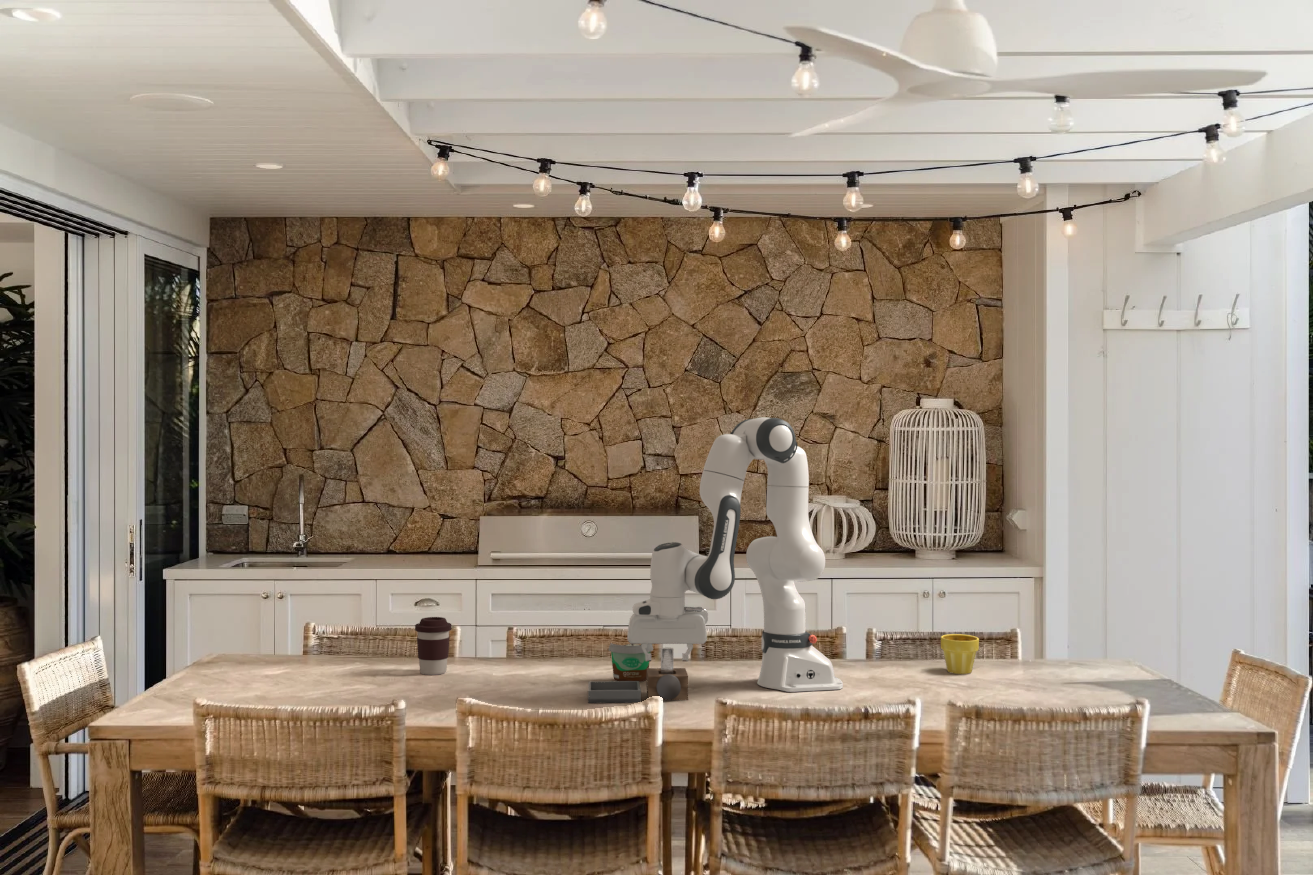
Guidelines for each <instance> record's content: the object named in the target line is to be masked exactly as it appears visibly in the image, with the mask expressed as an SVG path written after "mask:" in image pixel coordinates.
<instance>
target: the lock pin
mask: <svg viewBox="0 0 1313 875" xmlns="http://www.w3.org/2000/svg"><path fill="white" fill-rule="evenodd" d="M660 668H661V674H673V668H674V647H661V648H660Z"/></svg>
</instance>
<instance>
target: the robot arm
mask: <svg viewBox="0 0 1313 875" xmlns="http://www.w3.org/2000/svg"><path fill="white" fill-rule="evenodd" d="M796 439H797V437H796V434H795V430H794V428H793V427H792V425H791V424H790V423H789V422H788V421H786V420H784V419H782V418H778V417H769V416H767V417H766V416H765V417H764V416H763V417H762V416H761V417H757V418H748V419H745V420H744V419H743V420H742V421H740V422H739V423H737V424H736V425H735V426H734V427H733V429H732V431H731V432H730V433H724V434H720V435H719V436H717V437H716V438H715V439H714V441H713V443H712V445H711V448H710V449H709V452H708V454H707V457H706V461H705V463H704V466H703V471H702V474H701V477H700V482H699V496H700V499H701V501H702V502H703V504H704V505H705V507H706V508H708V509H709V511H710V513H711V515H712V518H713V529H712V536H711V541H710V547H709V552H708V555H703V554H700V553H697V552H695V551H693V550H691V549H689V548H687V547H685V546H684V545H683V544H682V543H681V542H677V541H676V542H674V541H672V542H666V543H660V544H658V545H657V546H656V547H655V548H654V549H653V551H652V554H651V561H650V571H649V572H650V574H649V575H650V576H649V578H650V582H651V589H650V591H649V599H647V600H643V601H640V602H636V603H634V604H633V606H632V614H631V615H630V618H629V620H628V621H629V622H628V628H627V641H628V644H639V645H641V648H642V650H643V652H644V653H645V661H650V662H652V652H650V653H647V651H646V649H645V648H647V644H652V645H659V644H661V645H666V644H667V645H668V644H669V645H671V644H672V645H674V644H675V645H686V647H687V650H686V651H685V653H682V654H681V656H682V658H681V660H682V661H681V662H689V656H690V653H691V652H692V651H693V649H694V645H704V644H705V643H706V642H707V640H708V636H707V634H708V633H707V626H706V624H707V623H708V621H709V612H708V611H707V610H706V609H705V608H703V607H701V606H695V607H694V606H685V604H686V603H685V600H686V599H685V598H686V597H685V596H686V595H685V594H686V591H691V592H693V593H696V594H699V595H702V596H703V597H706V598H707V599H710V600H720V599H722V598H724V597H726V596H727V595H728V594H729V593H730V592H731V591H732V589H733V587H734V585H735V579H736V573H735V572H736V571H735V552H736V547H737V540H738V534H739V528H740V522H741V521H740V520H741V512H742V511H741V508H742V507H741V502H742V501H741V499H742V492H743V489H744V488H743V487H744V483H745V479H746V474H747V471H748V467H749V466H750V464H751V463H752V461H753V460H760V461H764V463H765V465H766V468H767V481H766V484H767V486H766V503H765V504H766V508H765V513H766V517H767V518H768V520H770V521H771V522H772V524H773V527H774V530H775V533H776V536H774V535H773V536H772V535H771V536H762V537H759V538H755V539H754V540H752V541H751V543H749V545H748V547H747V549H746V554H745V557H746V558H745V559H746V563H747V566H748V568H750V570H751V571H752V572H753V573H754V575H755V577H756V580H757V583H758V586H759V590H760V592H761V597H762V604H763V630H762V632H761V651H762V659H761V667H760V671H759V672H760V673H759V676H758V678H757V682H756V684H757V685H759V686H760V687H763V688H766V689H767V688H768V689H772V690H778V691H779V690H780V691H781V692H789V693H790V692H791V693H794V692H795V693H796V692H813V691H814V692H816V691H831V690H841V689H843V688H844V685H843V684H844V683H843V681H842V680H841V679H840V678H838V677H836V676H835V669H834V666H833V663H832V661H831V660H830V659H829V658H828V657H827V656H825V655H824V654H823V653H822V652H821V651H819V650H818V649H817V648H816V647H814V646H813V645H814V644H816V643H817V642H818V639H817V636H816V635H814V634H811V633H810V632H808V631H806V620H807V619H806V601H805V600H804V598H803V597H802V596H801V595H800V593H799V592H798V590H797V587H796V584H795V582H796V583H804V582H812V581H815V580H817V579H819V578H820V577H821V576H822V574H823V573H824V571H825V568H826V555H825V552H824V551H823V549H822V547H820V545H819V544H818V543H817V541H816V539H815V537H814V534H813V531H812V527H811V523H810V516H809V493H810V492H809V489H810V488H809V486H810V476H809V474H810V473H809V463H808V457H807V453H806V451H805V450H804V449H803V448H802V447H801V446H798V442H797V440H796Z"/></svg>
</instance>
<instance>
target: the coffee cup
mask: <svg viewBox="0 0 1313 875" xmlns="http://www.w3.org/2000/svg"><path fill="white" fill-rule="evenodd" d="M452 627H453V626H452V623H450V622H448V621H447V619H446V617H442V616H440V617H439V616H430V617H422V618H421V619H420V620H419V623H416V624H414V631H416V634H417V637H416V642H417V643H416V644H417V658H418V661H419V662H418V664H419V672H420V674H422V675H425V676H439V675H443V674H445V673H447V670H448V658H449V651H450V639H451V637H450V631H452Z"/></svg>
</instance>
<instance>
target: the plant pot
mask: <svg viewBox="0 0 1313 875" xmlns="http://www.w3.org/2000/svg"><path fill="white" fill-rule="evenodd" d="M979 646H980V638H979V637H977V636H976V635H975V636H974V635H970V634H960V633H958V634H957V633H951V634H949V633H948V634H944V635H941V637H940V648H941V650H943V656H944V661H945V665H946V670H947V672H948V673H951V674H955V675H968V674H969V675H970V674H971V673H972V671H973V666H974V665H975V664H974V663H975V660H976V656H977V652H978V651H979V648H980V647H979Z"/></svg>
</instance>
